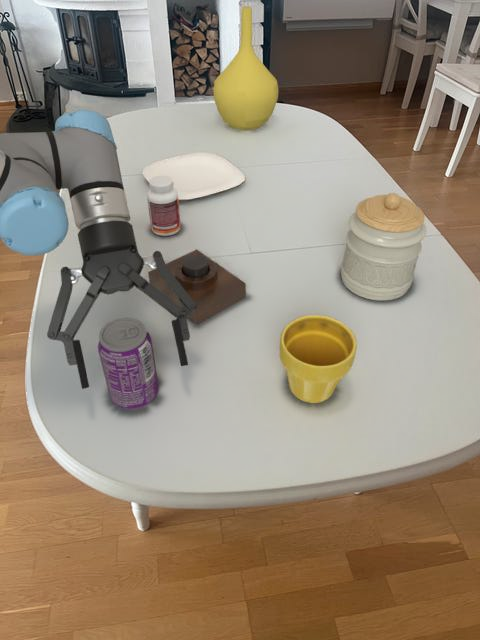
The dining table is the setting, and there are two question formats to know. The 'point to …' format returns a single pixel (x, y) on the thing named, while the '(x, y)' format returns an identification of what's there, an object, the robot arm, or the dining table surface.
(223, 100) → the vase
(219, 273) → the button box
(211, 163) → the plate
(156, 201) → the pill bottle
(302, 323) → the flower pot
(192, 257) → the button
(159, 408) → the dining table surface
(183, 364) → the robot arm
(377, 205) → the jar
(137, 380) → the beverage can
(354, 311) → the dining table surface
